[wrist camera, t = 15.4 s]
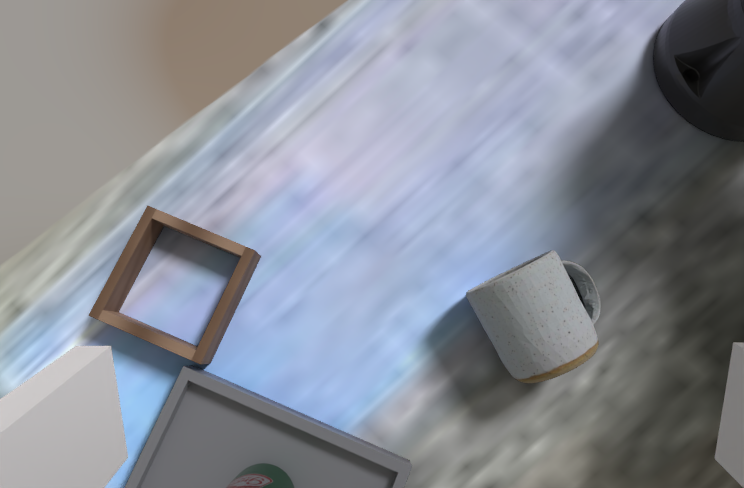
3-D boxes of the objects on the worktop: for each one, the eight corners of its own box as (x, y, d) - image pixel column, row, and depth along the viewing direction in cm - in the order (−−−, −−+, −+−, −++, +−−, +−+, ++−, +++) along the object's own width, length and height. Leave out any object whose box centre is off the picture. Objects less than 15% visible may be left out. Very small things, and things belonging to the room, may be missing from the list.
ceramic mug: (504, 386, 40) (540, 394, 32) (454, 297, 41) (478, 285, 34) (610, 325, 41) (668, 320, 34) (559, 241, 43) (603, 218, 35)
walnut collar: (261, 256, 42) (254, 250, 39) (210, 363, 40) (200, 364, 37) (159, 213, 42) (147, 205, 40) (105, 317, 40) (88, 315, 38)
